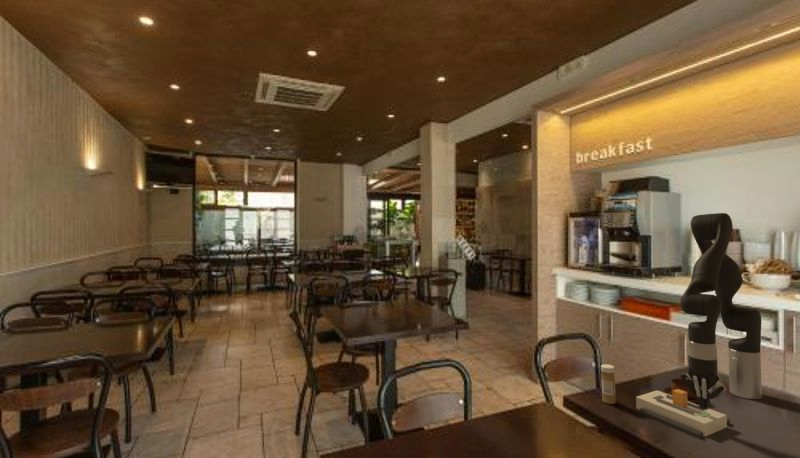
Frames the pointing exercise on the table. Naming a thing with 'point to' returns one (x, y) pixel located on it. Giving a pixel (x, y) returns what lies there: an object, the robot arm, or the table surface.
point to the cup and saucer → (682, 386)
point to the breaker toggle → (680, 398)
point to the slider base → (683, 412)
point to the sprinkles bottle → (608, 383)
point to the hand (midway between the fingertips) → (703, 408)
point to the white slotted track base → (673, 423)
